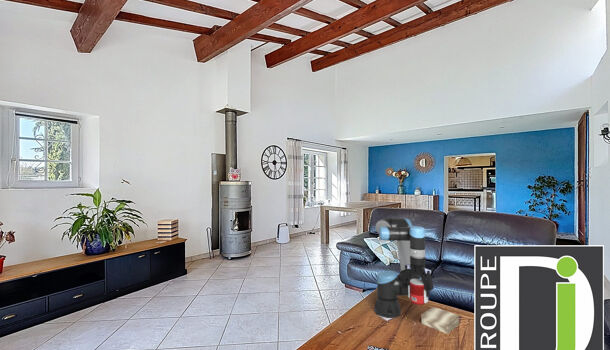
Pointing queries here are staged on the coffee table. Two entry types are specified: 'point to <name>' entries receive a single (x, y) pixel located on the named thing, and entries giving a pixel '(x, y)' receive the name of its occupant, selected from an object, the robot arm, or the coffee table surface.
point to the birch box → (440, 320)
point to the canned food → (417, 291)
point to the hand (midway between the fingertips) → (418, 299)
